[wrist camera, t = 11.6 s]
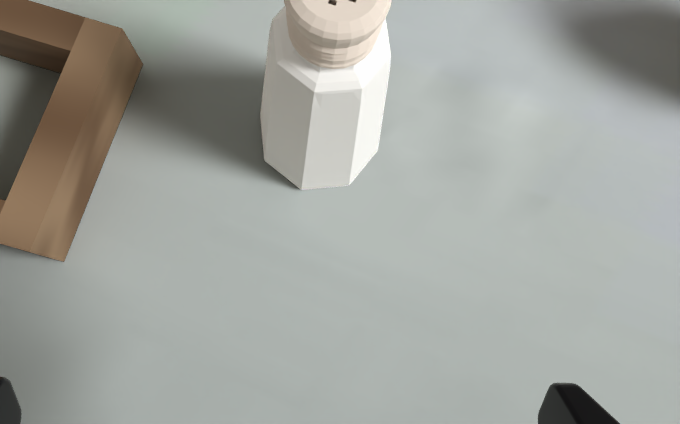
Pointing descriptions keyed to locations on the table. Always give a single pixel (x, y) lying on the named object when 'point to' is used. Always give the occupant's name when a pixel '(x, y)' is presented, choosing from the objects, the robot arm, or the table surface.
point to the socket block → (63, 120)
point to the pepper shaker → (325, 89)
